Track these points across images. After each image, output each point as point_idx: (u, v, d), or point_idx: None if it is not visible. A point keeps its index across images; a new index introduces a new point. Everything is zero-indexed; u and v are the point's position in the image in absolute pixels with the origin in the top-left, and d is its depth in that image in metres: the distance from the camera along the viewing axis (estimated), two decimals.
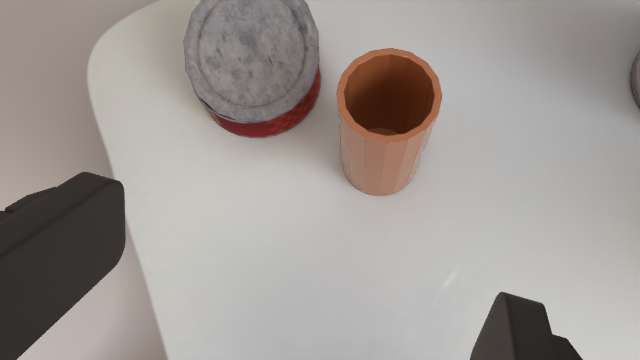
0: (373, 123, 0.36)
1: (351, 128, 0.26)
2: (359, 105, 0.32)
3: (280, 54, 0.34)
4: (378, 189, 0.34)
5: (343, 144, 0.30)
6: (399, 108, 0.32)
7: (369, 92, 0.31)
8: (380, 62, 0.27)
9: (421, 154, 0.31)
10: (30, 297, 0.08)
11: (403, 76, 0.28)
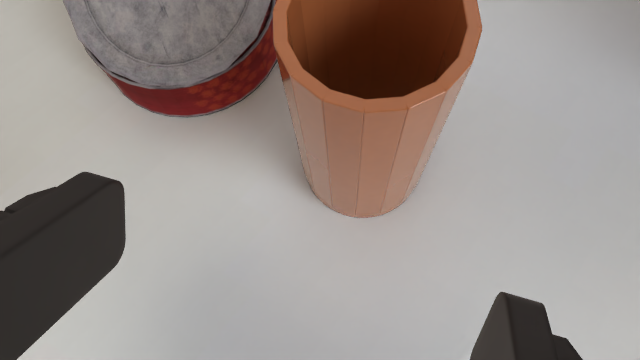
0: None
1: (294, 81, 0.13)
2: (328, 63, 0.19)
3: None
4: (355, 207, 0.21)
5: (294, 124, 0.17)
6: (397, 74, 0.19)
7: (346, 38, 0.18)
8: None
9: (430, 151, 0.18)
10: (30, 296, 0.08)
11: (406, 3, 0.16)
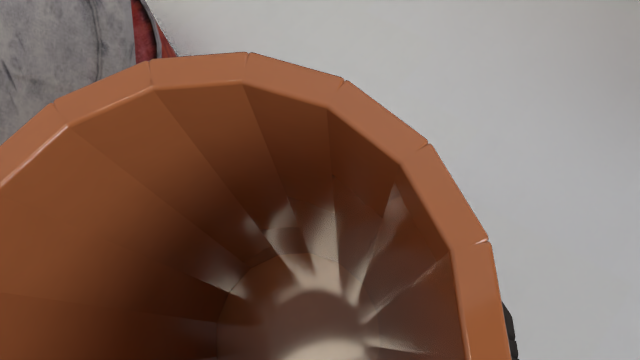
0: (285, 248, 0.14)
1: None
2: (209, 232, 0.10)
3: (35, 59, 0.13)
4: None
5: None
6: (340, 239, 0.11)
7: (230, 201, 0.09)
8: (210, 117, 0.06)
9: None
10: None
11: (329, 174, 0.07)
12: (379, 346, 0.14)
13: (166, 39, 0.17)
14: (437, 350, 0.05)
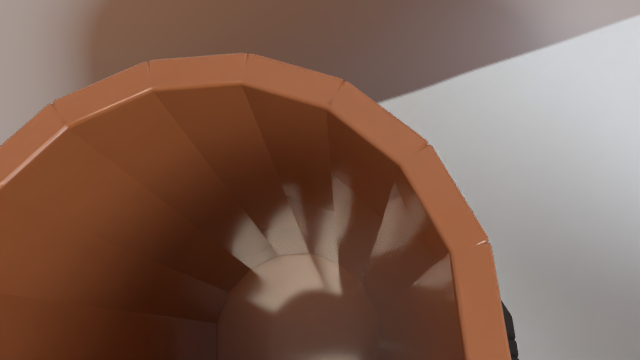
0: (285, 248, 0.14)
1: None
2: (208, 233, 0.10)
3: None
4: None
5: None
6: (340, 240, 0.11)
7: (230, 202, 0.09)
8: (209, 118, 0.06)
9: None
10: None
11: (329, 175, 0.07)
12: (379, 347, 0.14)
13: None
14: (437, 351, 0.05)
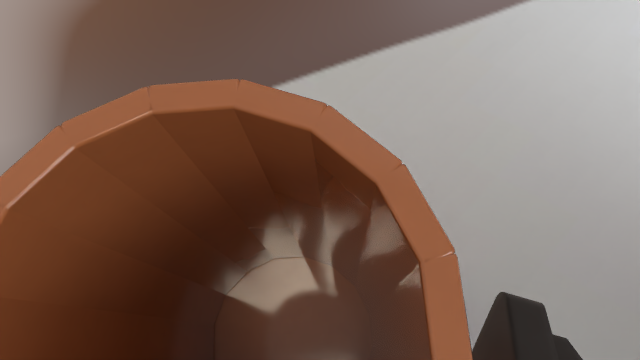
0: (280, 252, 0.14)
1: None
2: (205, 239, 0.10)
3: None
4: None
5: None
6: (331, 245, 0.11)
7: (225, 210, 0.09)
8: (204, 136, 0.06)
9: None
10: None
11: (317, 187, 0.07)
12: (371, 347, 0.14)
13: None
14: (412, 352, 0.06)
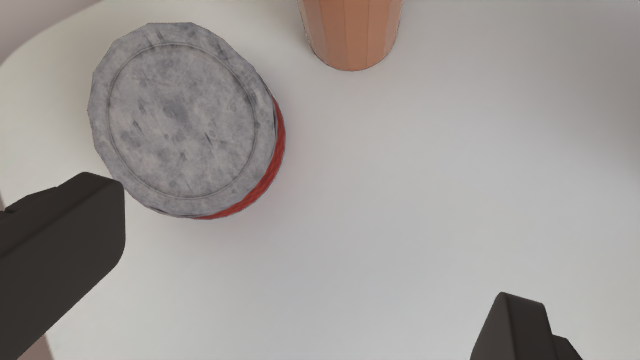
0: None
1: None
2: None
3: (221, 130, 0.25)
4: (347, 60, 0.28)
5: None
6: None
7: None
8: None
9: (397, 9, 0.24)
10: (30, 297, 0.08)
11: None
12: None
13: None
14: None
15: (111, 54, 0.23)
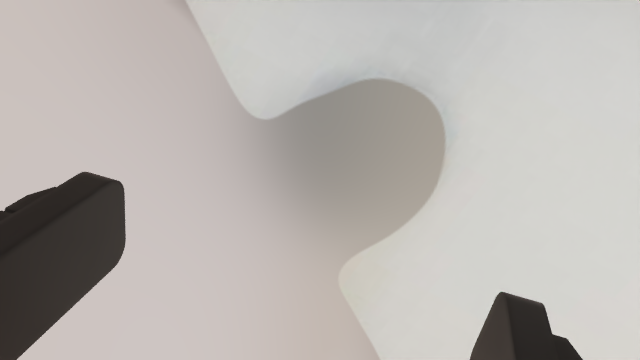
0: None
1: None
2: None
3: None
4: None
5: None
6: None
7: None
8: None
9: None
10: (30, 297, 0.08)
11: None
12: None
13: None
14: None
15: None
